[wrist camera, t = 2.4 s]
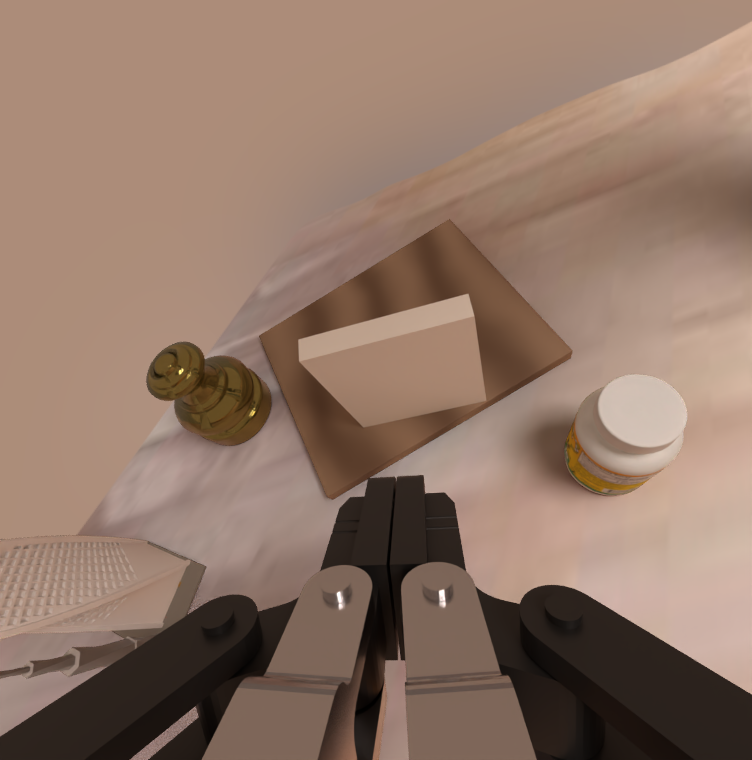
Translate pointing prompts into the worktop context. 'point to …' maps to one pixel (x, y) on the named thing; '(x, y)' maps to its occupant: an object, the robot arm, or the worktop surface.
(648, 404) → the supplement bottle
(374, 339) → the tile
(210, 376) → the brass knob
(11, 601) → the skyscraper
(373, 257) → the worktop surface
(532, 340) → the board
